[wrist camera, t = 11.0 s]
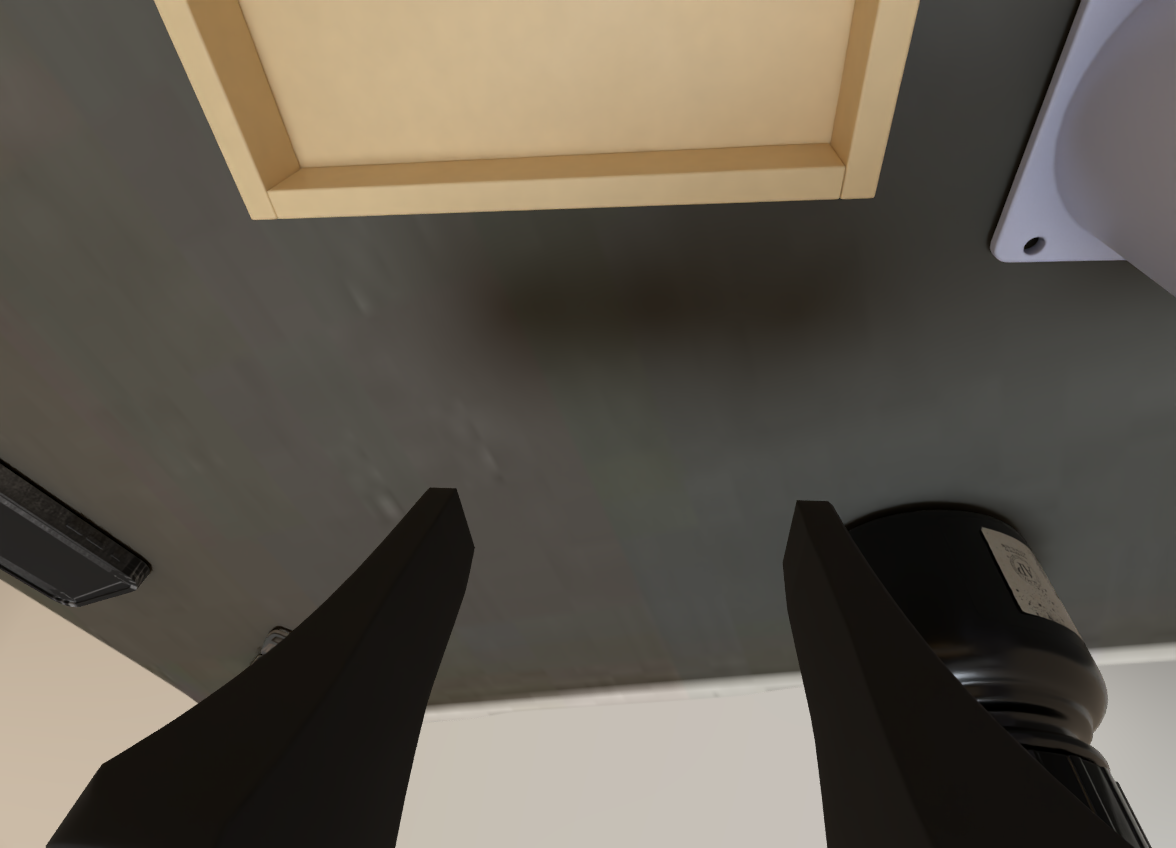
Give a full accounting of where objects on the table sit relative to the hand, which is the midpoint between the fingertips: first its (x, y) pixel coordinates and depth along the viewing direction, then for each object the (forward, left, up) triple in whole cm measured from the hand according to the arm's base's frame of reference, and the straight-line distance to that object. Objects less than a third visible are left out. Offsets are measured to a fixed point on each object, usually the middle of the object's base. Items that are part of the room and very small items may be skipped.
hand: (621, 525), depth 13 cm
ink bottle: (-12, +13, -10) cm, 20 cm away
